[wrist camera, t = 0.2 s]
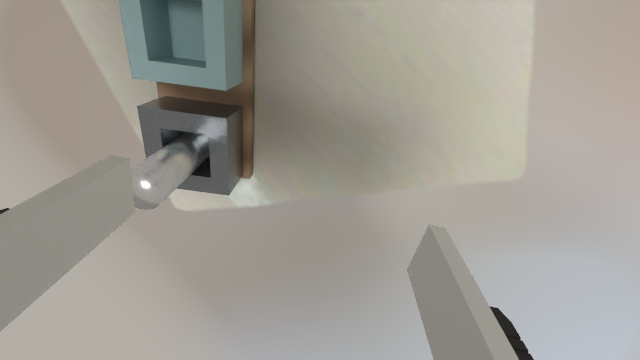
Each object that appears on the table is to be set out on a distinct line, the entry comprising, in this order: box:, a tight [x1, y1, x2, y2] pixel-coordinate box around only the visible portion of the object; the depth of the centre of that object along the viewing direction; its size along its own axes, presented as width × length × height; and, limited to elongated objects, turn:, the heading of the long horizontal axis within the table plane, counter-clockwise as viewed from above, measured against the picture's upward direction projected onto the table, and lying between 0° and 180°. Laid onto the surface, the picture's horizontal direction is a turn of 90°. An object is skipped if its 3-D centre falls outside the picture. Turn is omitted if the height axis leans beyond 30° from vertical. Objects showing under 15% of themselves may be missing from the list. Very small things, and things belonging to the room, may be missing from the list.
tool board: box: [157, 0, 255, 178], centre depth 37 cm, size 24×12×2 cm, turn 173°
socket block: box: [137, 96, 243, 195], centre depth 37 cm, size 10×10×6 cm
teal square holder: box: [119, 0, 243, 91], centre depth 31 cm, size 10×10×6 cm
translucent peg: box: [131, 132, 210, 209], centre depth 32 cm, size 4×4×14 cm
